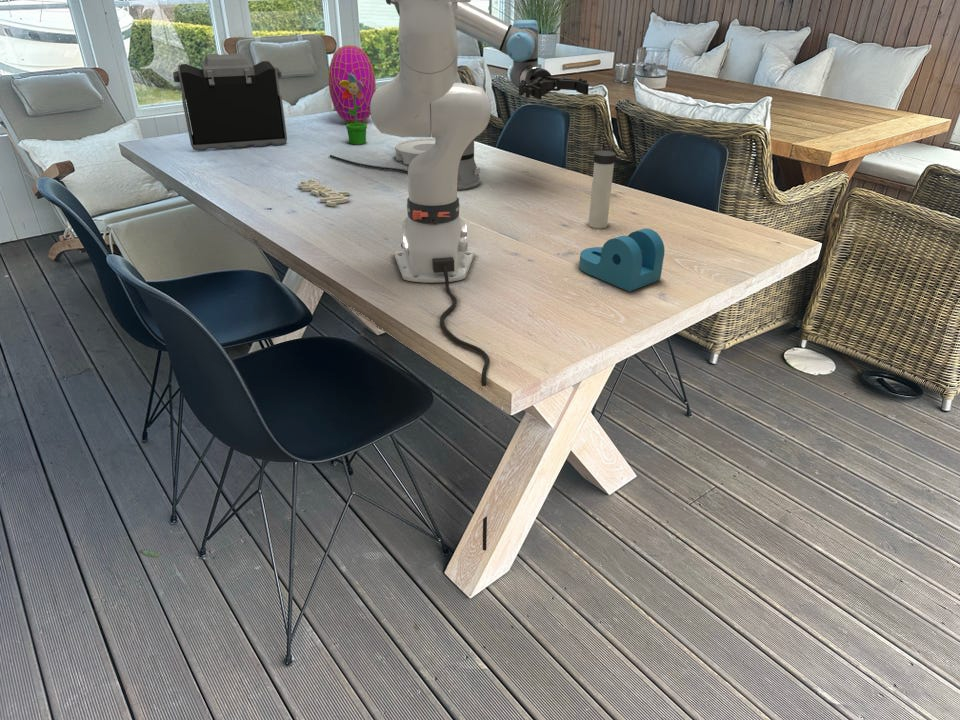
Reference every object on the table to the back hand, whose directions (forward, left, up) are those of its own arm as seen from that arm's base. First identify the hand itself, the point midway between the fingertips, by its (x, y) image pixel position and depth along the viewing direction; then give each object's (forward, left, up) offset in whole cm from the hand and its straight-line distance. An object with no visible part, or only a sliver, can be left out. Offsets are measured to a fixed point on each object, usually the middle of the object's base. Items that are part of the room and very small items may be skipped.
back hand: (563, 91), depth 185 cm
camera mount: (+41, -31, -31) cm, 60 cm away
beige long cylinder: (+19, -7, -31) cm, 37 cm away
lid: (+20, -7, -12) cm, 24 cm away
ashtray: (-64, +9, -31) cm, 72 cm away
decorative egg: (-129, +26, -31) cm, 136 cm away
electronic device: (-132, -27, -31) cm, 138 cm away
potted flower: (-99, +5, -31) cm, 104 cm away
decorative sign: (-55, -42, -31) cm, 76 cm away
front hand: (-17, -32, +17) cm, 40 cm away
